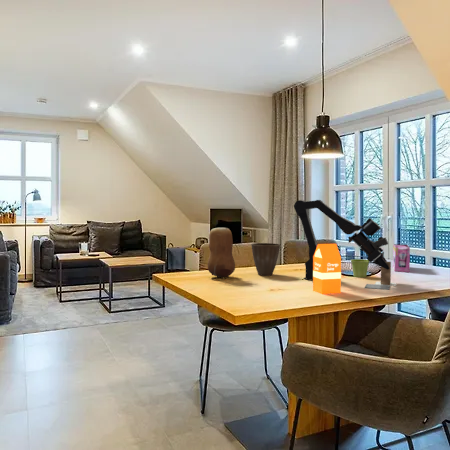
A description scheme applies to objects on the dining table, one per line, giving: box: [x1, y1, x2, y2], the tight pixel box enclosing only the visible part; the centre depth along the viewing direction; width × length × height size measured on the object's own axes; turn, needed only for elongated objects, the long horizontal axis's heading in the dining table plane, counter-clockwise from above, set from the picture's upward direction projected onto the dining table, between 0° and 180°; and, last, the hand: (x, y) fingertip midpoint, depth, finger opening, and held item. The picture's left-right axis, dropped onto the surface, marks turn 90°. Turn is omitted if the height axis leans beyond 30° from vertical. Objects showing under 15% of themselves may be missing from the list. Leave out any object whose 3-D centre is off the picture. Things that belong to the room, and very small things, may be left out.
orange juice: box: [312, 243, 342, 295], centre depth 183 cm, size 8×9×20 cm
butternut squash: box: [207, 227, 236, 279], centre depth 219 cm, size 14×13×25 cm
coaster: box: [364, 283, 391, 291], centre depth 192 cm, size 10×10×1 cm
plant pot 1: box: [251, 242, 281, 277], centre depth 229 cm, size 15×15×16 cm
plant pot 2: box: [350, 258, 370, 279], centre depth 222 cm, size 9×9×9 cm
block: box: [380, 260, 392, 285], centre depth 201 cm, size 4×5×10 cm
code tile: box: [374, 281, 397, 287], centre depth 201 cm, size 9×9×1 cm
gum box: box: [392, 243, 411, 273], centre depth 252 cm, size 24×8×14 cm, turn 161°
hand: (389, 268), depth 200 cm, fingers closed on block, 5 cm apart
